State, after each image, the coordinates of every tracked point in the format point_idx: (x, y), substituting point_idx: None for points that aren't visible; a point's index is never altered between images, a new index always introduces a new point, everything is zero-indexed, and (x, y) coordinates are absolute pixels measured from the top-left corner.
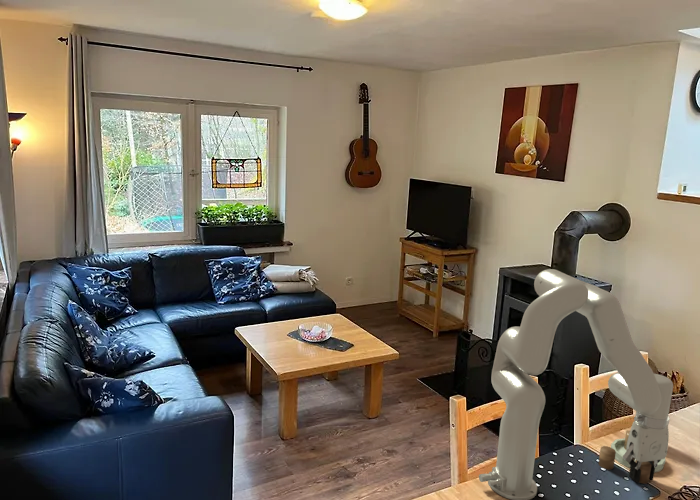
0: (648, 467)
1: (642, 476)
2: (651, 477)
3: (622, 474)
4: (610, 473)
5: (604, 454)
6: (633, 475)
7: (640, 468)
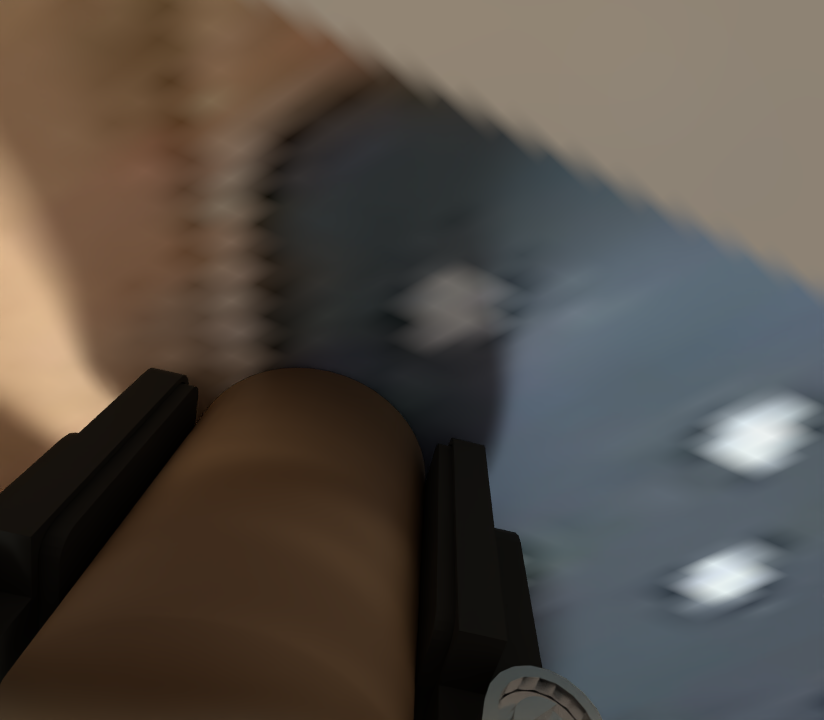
0: (246, 629)
1: (388, 489)
2: (162, 406)
3: None
4: None
5: None
6: (519, 576)
7: (409, 672)
